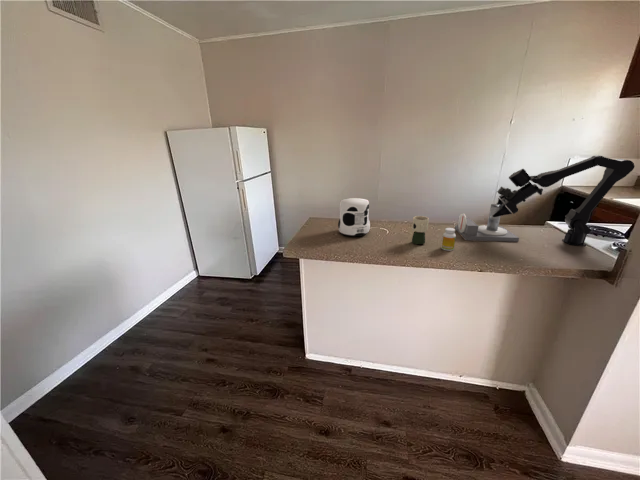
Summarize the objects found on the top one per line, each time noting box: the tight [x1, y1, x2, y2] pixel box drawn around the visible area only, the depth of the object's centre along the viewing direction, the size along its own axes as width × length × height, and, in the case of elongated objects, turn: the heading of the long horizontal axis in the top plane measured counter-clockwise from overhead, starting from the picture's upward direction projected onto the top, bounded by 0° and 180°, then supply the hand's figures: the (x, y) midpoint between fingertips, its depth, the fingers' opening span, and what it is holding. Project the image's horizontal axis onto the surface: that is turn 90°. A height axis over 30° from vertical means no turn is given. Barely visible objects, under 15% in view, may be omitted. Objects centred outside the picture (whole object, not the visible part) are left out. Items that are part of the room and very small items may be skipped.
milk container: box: [337, 197, 371, 237], centre depth 146 cm, size 17×17×18 cm
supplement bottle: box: [440, 227, 457, 252], centre depth 124 cm, size 5×5×10 cm
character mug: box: [411, 215, 430, 245], centre depth 131 cm, size 11×7×13 cm, turn 169°
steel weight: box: [486, 203, 502, 231], centre depth 138 cm, size 5×5×13 cm
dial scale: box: [454, 213, 520, 242], centre depth 140 cm, size 24×18×11 cm
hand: (491, 214), depth 138 cm, fingers open, 9 cm apart
